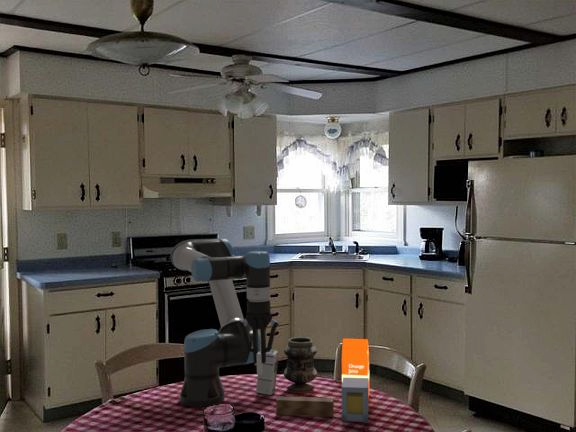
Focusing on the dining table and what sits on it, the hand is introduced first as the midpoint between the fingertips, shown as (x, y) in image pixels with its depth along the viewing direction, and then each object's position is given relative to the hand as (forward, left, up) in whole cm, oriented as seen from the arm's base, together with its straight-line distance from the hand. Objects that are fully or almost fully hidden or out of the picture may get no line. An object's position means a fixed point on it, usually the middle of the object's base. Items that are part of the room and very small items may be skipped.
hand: (260, 372), depth 198 cm
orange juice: (+30, +19, -13) cm, 38 cm away
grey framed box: (+30, 0, -13) cm, 33 cm away
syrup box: (-2, +20, -13) cm, 23 cm away
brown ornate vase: (+10, +25, -13) cm, 30 cm away
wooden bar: (+14, 0, -13) cm, 19 cm away
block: (+30, 0, -13) cm, 33 cm away
